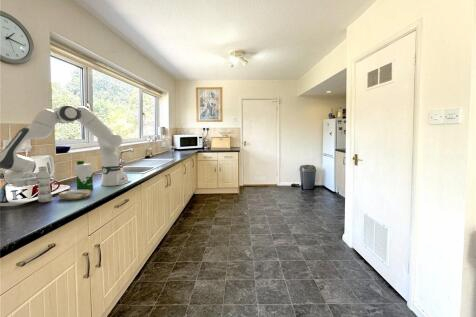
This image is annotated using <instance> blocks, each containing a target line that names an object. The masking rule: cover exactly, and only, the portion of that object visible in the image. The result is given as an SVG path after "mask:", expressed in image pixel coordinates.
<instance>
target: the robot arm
mask: <svg viewBox="0 0 476 317" xmlns="http://www.w3.org/2000/svg"><path fill="white" fill-rule="evenodd" d="M75 121H77V122H79V123H80V125H82V126H83V127H84V129H86V130H87V131H88V132H89V133H90V134H91V135H93V136H94V137H96V140H97V143H98V145H99V150H100V153H101V161H102V162H101V163H102V166H101V172H102V173H101V182H100V186H104V187H109V186H111V187H112V186H122V185H125V184H128V183H130V182H132V180H131V179H128V178H129V177H128V174H127V173H126V172H124V171H123V170H121V169H123V168H124V166H123V165H119V163H120V162H119V154H118V152H117V149H116V148H119V147H120V146H121V145H122V143H123V137H122V136H121V135H119V134H118V133H116V132H115V131H114V130H112V128H110V127H109V126H107V124H105V123H104V122H103V121H102V120H101V119H100V118H99V117H98V116H97V115H96V114H95V113H93V111H91V109H89V108H87V107H86V106H84V105H80V106H77V107H76V106H73V105H70V104H66V105H60V106H59V107H56V108H55V109H50V108H42V109H40V110H39V111H38V112H37V114H36V115H35V117H34V118H33V120H32V122H31V123H30V124H29V125H28V126H27V127H22V128H21V129H20V130H19V131H18V132H17V133H16V134H15V135H14V136H13V138H11V140H10V142H9V143H8V144H7V145H6V146H5V148H4V149H3V150H2V151H1V152H0V169H3V170H8V171H6V172H5V173H3V175H4V178H5V181H6V182H7V183H8V184H12V187H15V188H24V187H23V186H28V185H35V186H36V184H37V185H38V183H37V179H36V175H37V174H38V173H39V171H38V172H35V170H36V168H37V165H36V164H37V163H36V160H35V159H33V158H31V157H28V156H24V155H21V154H18V153H17V151H19V149H20V147H21V146H23V144H24V143H25V141H27V140H44V139H47V138H49V137H50V136H51V134H52V132H53V131H54V129H55V126H56V124H58V123H59V124H68V123H71V122H75ZM49 174H50V176H51V177H50V183H51V182H54V181H55V180H56V175H55V174H54V173H53V174H52V173H49ZM8 184H7V185H8Z"/></svg>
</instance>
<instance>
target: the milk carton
mask: <svg viewBox="0 0 476 317" xmlns="http://www.w3.org/2000/svg"><path fill="white" fill-rule="evenodd" d="M93 164H94V163H85V160H77V161H76V164H74V168H75V174H76V175H75V177H76V190H80V189H85V190H90V191H92V190H94V182H93Z"/></svg>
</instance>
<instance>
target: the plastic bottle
mask: <svg viewBox="0 0 476 317" xmlns="http://www.w3.org/2000/svg"><path fill="white" fill-rule="evenodd" d="M38 172H39V173H38V174H37V175H36V179H37V183H38V184H37V188H38V189H37V190H38V192H37V193H38V194H37V201H38V202H39V203H48V202H51V201H52V200H53V194H52V191H51V182H50V177H51V176H50V174H51V173H49V172H48V167H47V166H39V167H38Z"/></svg>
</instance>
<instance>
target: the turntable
mask: <svg viewBox="0 0 476 317" xmlns="http://www.w3.org/2000/svg"><path fill="white" fill-rule="evenodd" d="M91 191H92V190H85V189H80V190H77V189H70V190H65V191H62V192H58V198H59V199H60V200H61V199H62V200H63V199H76V198H82V197H86V196H87V197H88V196H91V195H92V193H91Z"/></svg>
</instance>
